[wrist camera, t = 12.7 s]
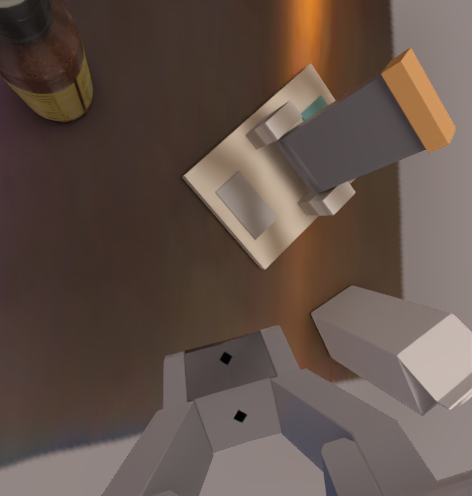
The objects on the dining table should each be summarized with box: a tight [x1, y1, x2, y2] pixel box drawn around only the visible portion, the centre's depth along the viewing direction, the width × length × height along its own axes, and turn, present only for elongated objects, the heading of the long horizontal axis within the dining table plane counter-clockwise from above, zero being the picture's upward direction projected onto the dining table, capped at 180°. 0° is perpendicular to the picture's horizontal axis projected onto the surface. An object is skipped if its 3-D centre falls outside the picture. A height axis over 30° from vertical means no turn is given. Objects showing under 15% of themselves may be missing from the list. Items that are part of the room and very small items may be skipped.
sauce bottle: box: [0, 0, 93, 123], centre depth 25 cm, size 7×6×20 cm
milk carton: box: [311, 286, 472, 416], centre depth 39 cm, size 7×7×19 cm
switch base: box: [182, 64, 356, 270], centre depth 40 cm, size 20×14×7 cm
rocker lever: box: [275, 48, 456, 195], centre depth 33 cm, size 3×7×14 cm, turn 42°
